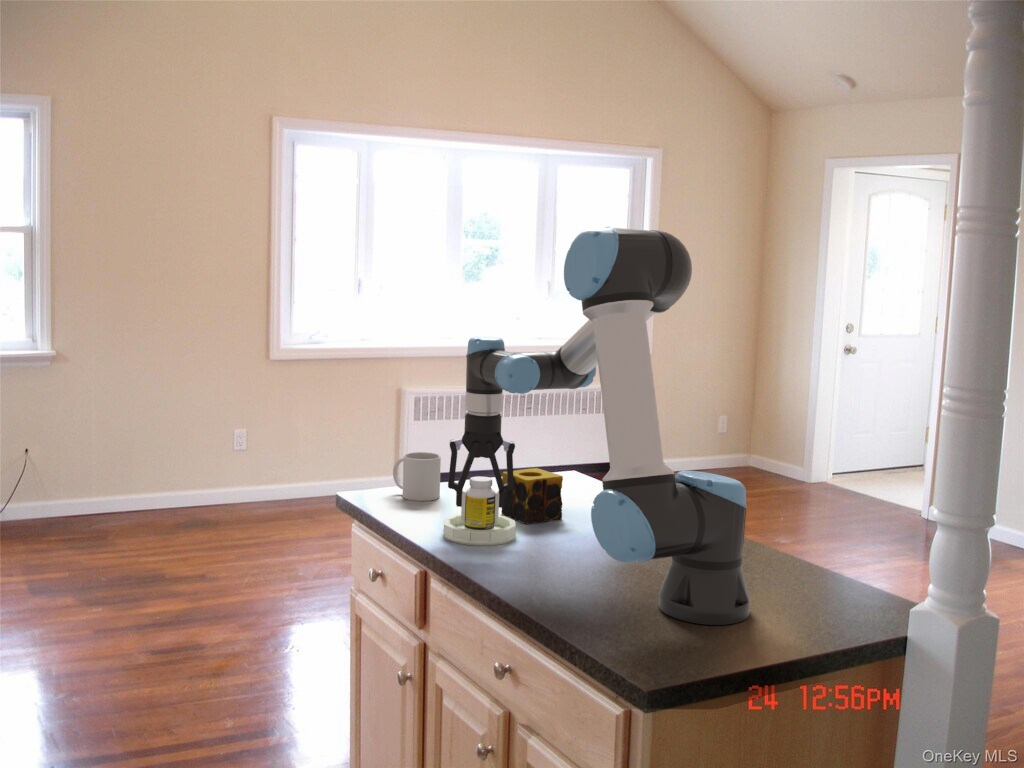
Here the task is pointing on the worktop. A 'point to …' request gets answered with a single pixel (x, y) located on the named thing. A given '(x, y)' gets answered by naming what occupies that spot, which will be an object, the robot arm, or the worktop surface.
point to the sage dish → (479, 532)
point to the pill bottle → (480, 505)
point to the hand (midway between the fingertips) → (479, 521)
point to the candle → (533, 496)
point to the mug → (419, 476)
